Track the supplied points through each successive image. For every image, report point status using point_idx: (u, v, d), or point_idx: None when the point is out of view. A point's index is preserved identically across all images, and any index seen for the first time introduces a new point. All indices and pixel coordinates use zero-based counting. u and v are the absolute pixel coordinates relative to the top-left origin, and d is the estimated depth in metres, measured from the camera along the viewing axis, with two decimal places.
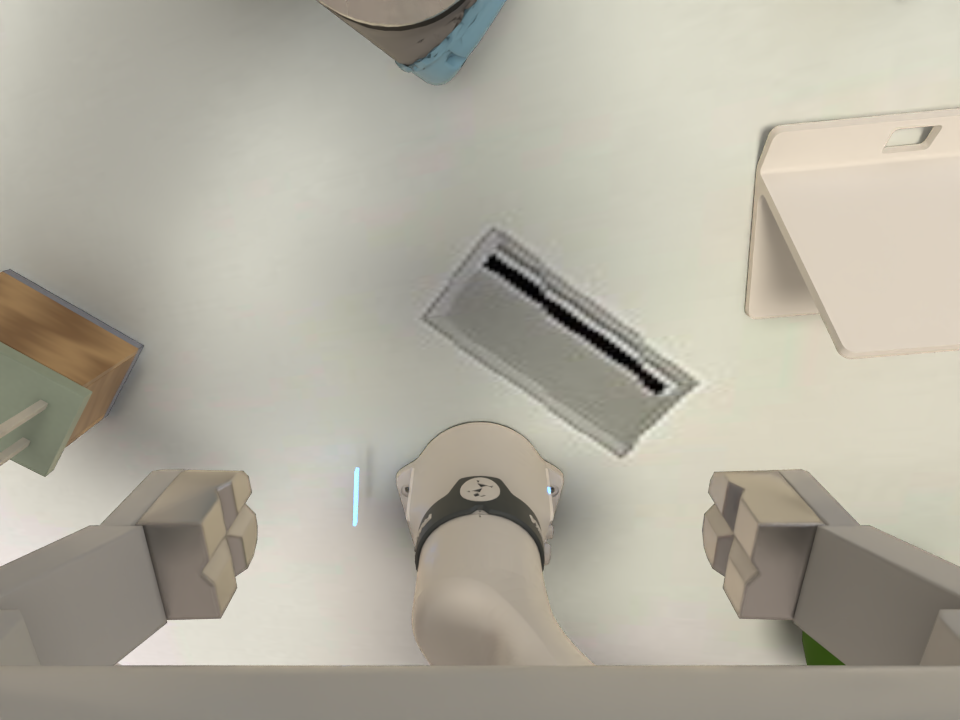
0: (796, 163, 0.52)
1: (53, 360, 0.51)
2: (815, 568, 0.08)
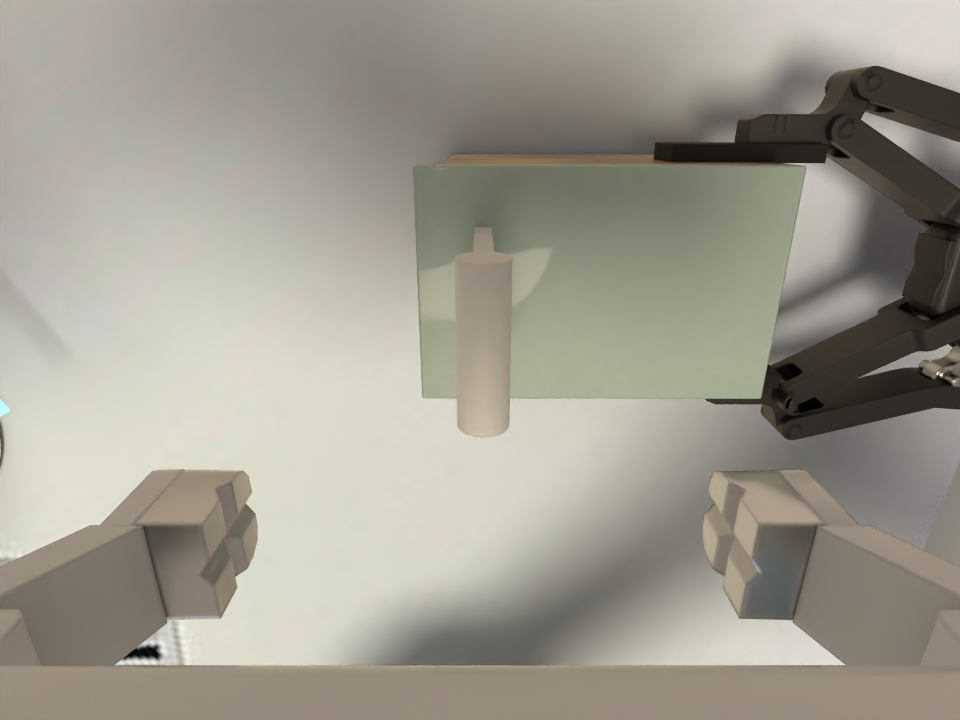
0: None
1: None
2: (815, 568, 0.08)
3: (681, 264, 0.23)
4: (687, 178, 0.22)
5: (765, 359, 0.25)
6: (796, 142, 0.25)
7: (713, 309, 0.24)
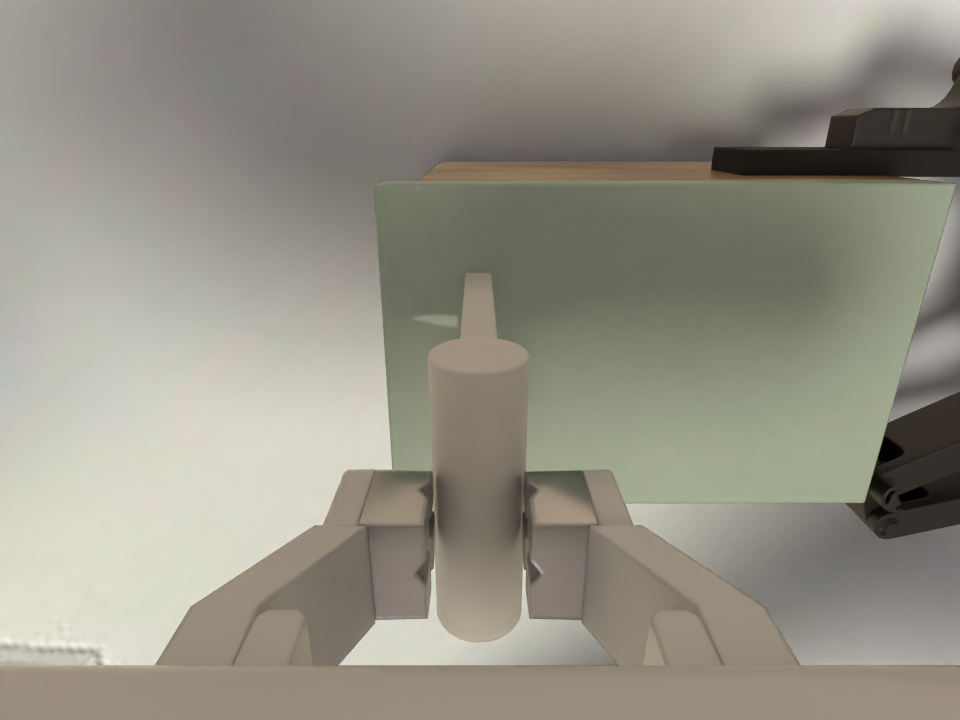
0: None
1: None
2: (591, 568, 0.08)
3: (764, 324, 0.16)
4: (779, 202, 0.15)
5: (875, 452, 0.18)
6: (918, 147, 0.18)
7: (806, 386, 0.17)
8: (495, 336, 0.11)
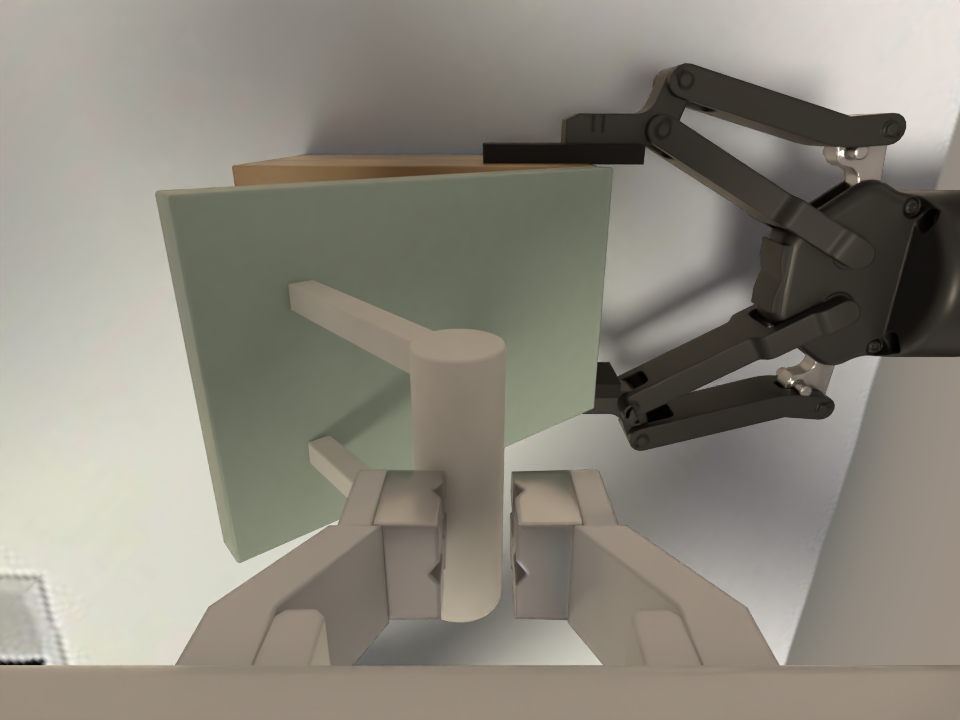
0: None
1: None
2: (576, 568, 0.08)
3: (526, 287, 0.20)
4: (525, 188, 0.19)
5: (595, 368, 0.24)
6: (616, 143, 0.24)
7: (554, 330, 0.22)
8: (430, 329, 0.11)
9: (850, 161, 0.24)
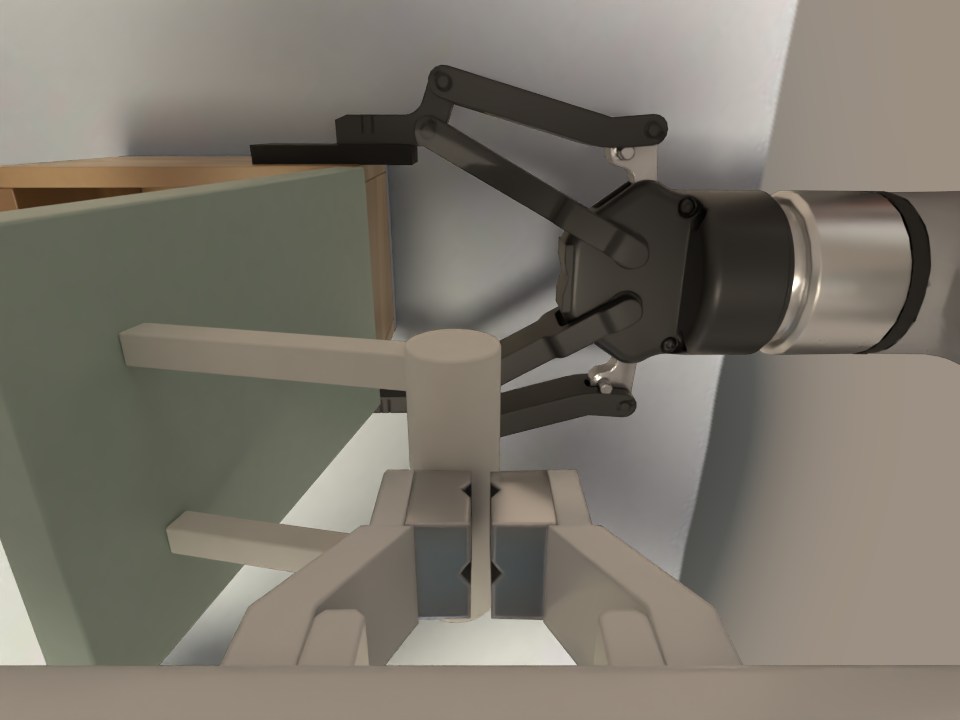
0: None
1: None
2: (550, 568, 0.08)
3: (323, 295, 0.19)
4: (309, 191, 0.18)
5: None
6: (387, 143, 0.24)
7: (347, 334, 0.21)
8: (389, 340, 0.11)
9: (624, 161, 0.25)
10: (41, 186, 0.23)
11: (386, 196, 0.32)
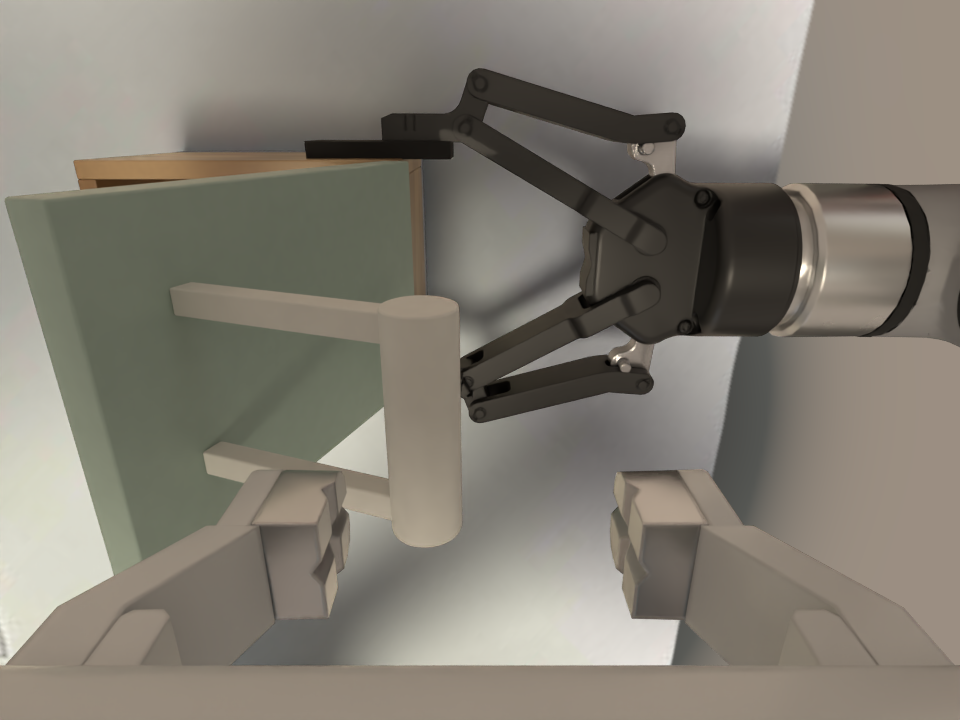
0: None
1: None
2: (700, 568, 0.08)
3: (360, 273, 0.22)
4: (350, 181, 0.20)
5: None
6: (427, 140, 0.27)
7: None
8: (373, 302, 0.13)
9: (645, 156, 0.27)
10: (120, 178, 0.25)
11: (421, 189, 0.34)
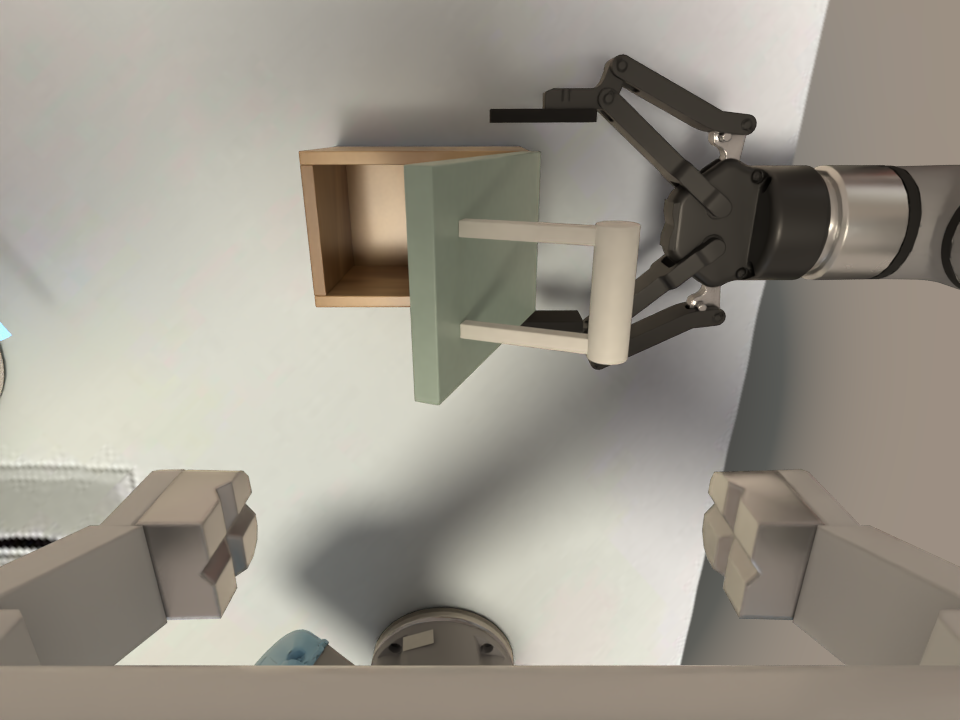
0: None
1: None
2: (815, 568, 0.08)
3: None
4: (518, 163, 0.31)
5: None
6: (578, 108, 0.36)
7: (525, 256, 0.34)
8: (586, 225, 0.23)
9: (721, 143, 0.37)
10: (331, 163, 0.35)
11: None
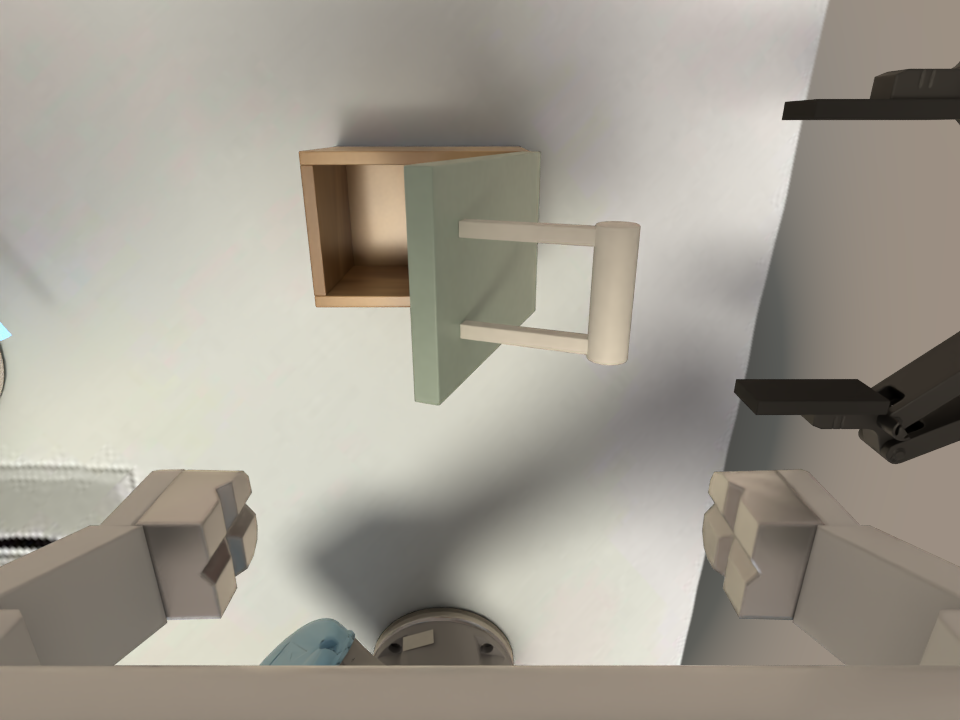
0: None
1: None
2: (815, 568, 0.08)
3: None
4: (518, 163, 0.31)
5: None
6: (940, 98, 0.24)
7: (525, 256, 0.34)
8: (586, 225, 0.23)
9: None
10: (331, 164, 0.35)
11: None
